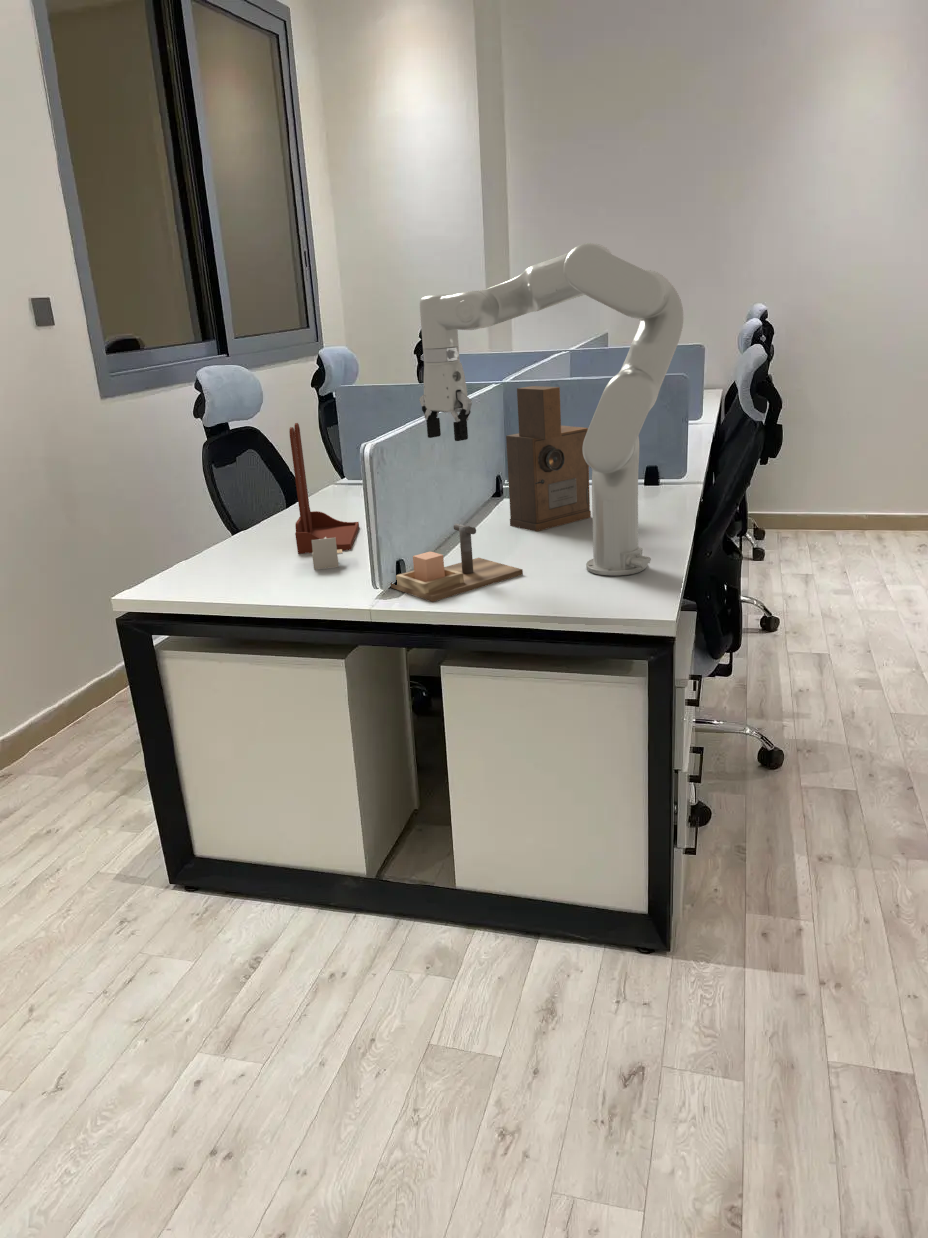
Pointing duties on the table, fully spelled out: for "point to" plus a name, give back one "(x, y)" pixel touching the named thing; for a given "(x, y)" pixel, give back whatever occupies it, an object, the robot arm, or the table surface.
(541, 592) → the table surface
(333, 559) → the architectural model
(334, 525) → the red dustpan
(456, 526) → the wooden board with post
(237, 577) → the table surface
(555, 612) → the table surface
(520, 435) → the vintage camera
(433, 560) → the salmon orange block
